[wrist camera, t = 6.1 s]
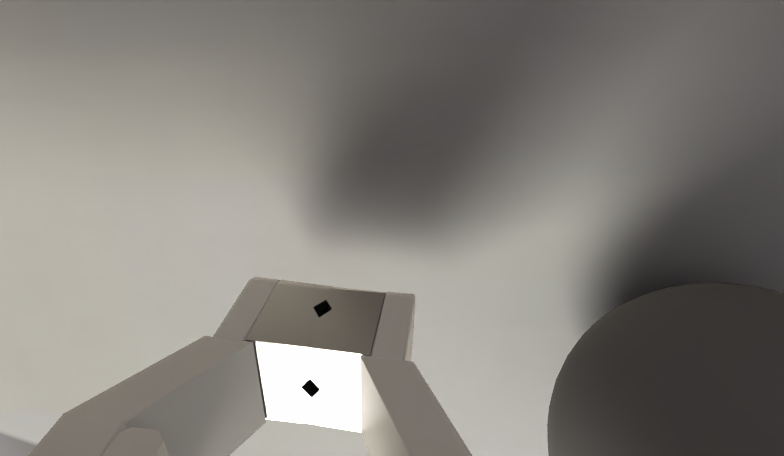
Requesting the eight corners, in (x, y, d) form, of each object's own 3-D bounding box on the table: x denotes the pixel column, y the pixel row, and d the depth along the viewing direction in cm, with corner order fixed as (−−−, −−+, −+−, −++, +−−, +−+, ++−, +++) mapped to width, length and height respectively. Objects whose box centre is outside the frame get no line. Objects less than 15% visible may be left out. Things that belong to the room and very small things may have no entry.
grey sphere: (1370, 730, 4) (951, 267, 8) (656, 501, 5) (610, 182, 9) (858, 770, 7) (750, 433, 12) (497, 638, 8) (518, 364, 12)
